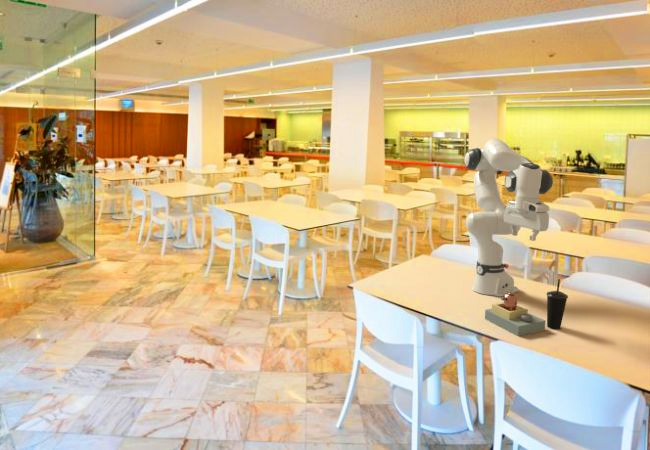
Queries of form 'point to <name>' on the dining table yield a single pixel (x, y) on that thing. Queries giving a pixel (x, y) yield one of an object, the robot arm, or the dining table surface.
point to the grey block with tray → (514, 319)
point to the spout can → (510, 301)
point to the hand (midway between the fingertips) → (523, 237)
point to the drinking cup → (555, 307)
